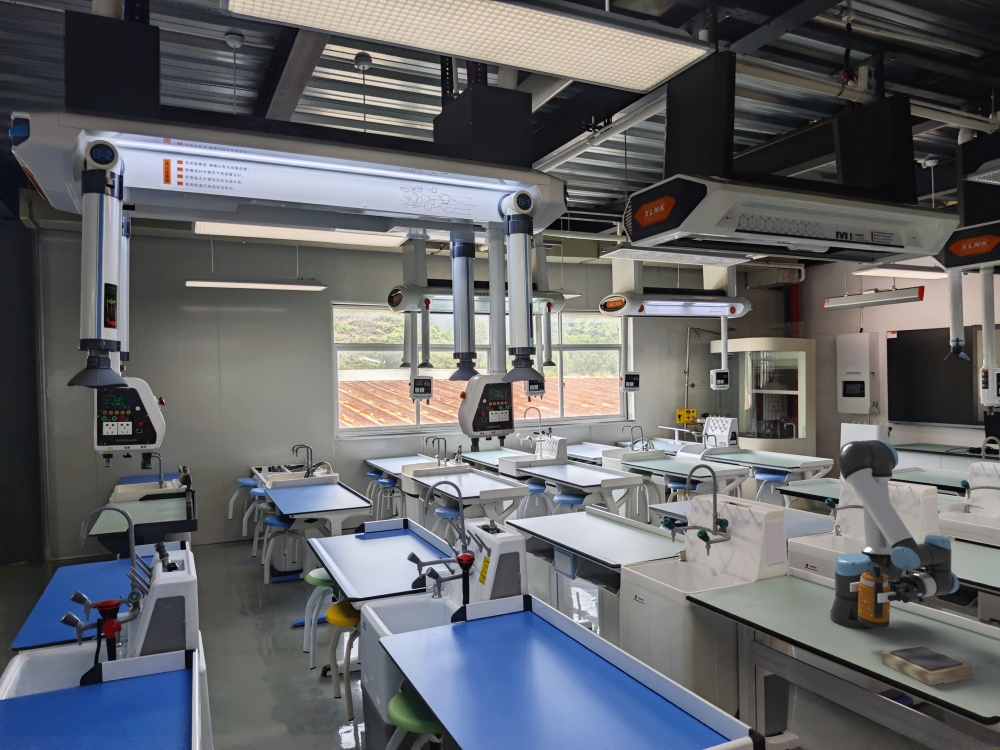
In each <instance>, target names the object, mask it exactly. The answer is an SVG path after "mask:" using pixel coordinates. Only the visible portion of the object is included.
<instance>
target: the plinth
mask: <svg viewBox="0 0 1000 750" xmlns="http://www.w3.org/2000/svg"><path fill="white" fill-rule="evenodd" d="M881 655H882V656H881V657H882V658H881V659H882V660H881V664H882V663H883V664H882V665H884V664H886V665H885V666H887V665H888V666H887V667H889V666H890V667H889V668H891V667H892V669H893V668H894V669H893V670H895V669H896V671H897V670H898V671H897V672H899V671H901V672H900V673H902V672H903V673H902V674H904V673H905V674H904V675H906V674H907V675H906V676H908V675H909V676H908V677H910V676H911V677H910V678H912V677H914V678H916V679H915V680H917V679H918V680H917V681H919V680H920V681H919V682H921V681H922V682H921V683H923V682H924V683H923V684H925V683H926V684H925V685H927V684H928V685H927V686H929V685H934V686H937V685H936V684H939V685H942V684H941V683H944V684H949V683H953V682H958V681H964V680H968V679H969V680H970V679H972V674H973V673H972V672H973V670H972V665H970V664H969V663H968V664H967V663H965V662H962V661H960V660H958V659H955V658H952V657H950V656H948V655H945V654H943V653H941V652H939V651H936V650H934V649H931V648H929V647H926V646H924V645H916V646H910V647H904V648H899V649H893V650H887V651H882V652H881ZM914 678H913V679H914Z"/></svg>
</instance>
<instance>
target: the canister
mask: <svg viewBox="0 0 1000 750" xmlns="http://www.w3.org/2000/svg"><path fill="white" fill-rule="evenodd" d="M867 565H868V566H869V570H870V571H869V572H865V573H863V574H862V575H861V579H860V582H859V584H858V620H859V621H860V622H861V623H863V624H865V625H867V626H870V627H873V628H874V629H875V628H876V629H879V628H880V629H881V628H887V627H889V626H890V620H891V619H890V617H891V616H890V615H891V614H890V612H891V609H890V607H891V605H890V604H891V603H890V602H891V601H890V602H883V603H878V594H879V593H886V592H890V587H889V586H888V579H887V577H888V576H887V575H886V574H884V573H882V569H881V566H880V567H879V565H878V564H877V563H876V562H868V563H867ZM883 574H884V575H883ZM885 575H886V576H885Z"/></svg>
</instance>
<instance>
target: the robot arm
mask: <svg viewBox="0 0 1000 750" xmlns="http://www.w3.org/2000/svg"><path fill="white" fill-rule="evenodd" d="M836 460H837V466H838V469H839V472H840V474H841V476H842V478H843V479H844V481H845V482H846V483H847V484H850V485H851V486H852V488H853V489H854V491H855V493H856V494H857V496H858V497H859V499H860V500H861V502H862V507H863V509H862V510H863V522H864V523H863V525H864V539H865V541H864V542H865V544H864V546H863V547H862V548H861V553H858V552H853V553H850V552H848V553H846V552H845V553H841V554H840V555H838V556H837V557H836V558H835V562H834V566H833V567H834V587H835V588H834V589H835V591H834V593H835V594H834V596H835V597H834V600H833V603H832V606H831V609H830V611H829V614H830V615H829V616H830V617H829V619H830V620H831V621H833V623H836V624H838V625H841V626H843V627H844V626H845V627H848V628H849V627H850V628H853V629H873V628H874V627H870V626H867V625H865V624H863V623H861V622H860V621H859V620H858V584H859V582H860V579H861V575H862V574H863V573H865V572H869V571H870V570H869V566H868V565H867V563H868V562H876V563H877V564H878V565H879V567H880V566H881V569H882V573H884V574H886V575H887V576H888V577H887V579H888V586H889V587H890V592H886V593H879V594H878V603H883V602H895V601H897V602H902V603H904V604H909V603H910V602H912V601H915V600H918V599H925V598H926V597H933V596H945V595H949V594H953V593H955V592H957V591H958V589H959V588H960V580H959V579H958V575H956V574H955V573H954V572H953V571H952V552H953V551H952V550H953V549H952V543H951V542H952V541H951V540H950V539H949V537H946V536H941V535H933V534H929V535H925V537H924V541H923V543H920V544H919V543H917V542H916V540H915V539H914V537H913V536H912V534H911V532H910V531H909V530H908V528H907V526H906V525H905V523H904V522H903V520H902V519H901V517H900V516H899V514H898V513H897V511H896V509H895V508H894V506H893V505H892V503H891V502H890V495H889V493H890V492H889V491H890V490H889V480H891V479H892V478H893V470H895V469H896V467H897V466H898V464H899V454H898V452H897V450H896V448H895V447H894V446H893V445H892V444H890V442H888V441H887V440H886V441H885V440H881V439H880V440H879V439H878V440H877V439H869V440H868V439H867V440H853V441H849V442H846V443H845V444H843V445H842V446H841V447H840V449H839V450H838V452H837V457H836ZM923 568H924V572H919V573H911V574H906V572H907V571H909V570H910V571H914V570H918V569H923ZM884 574H883V575H884ZM886 575H885V576H886Z"/></svg>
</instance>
